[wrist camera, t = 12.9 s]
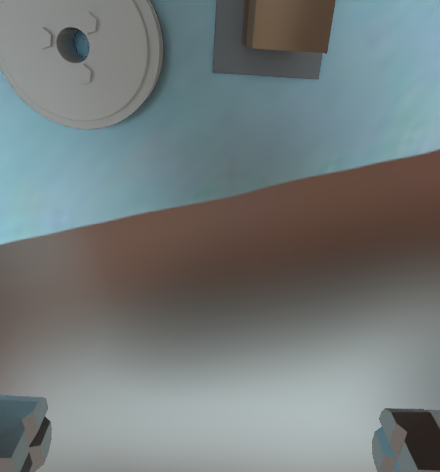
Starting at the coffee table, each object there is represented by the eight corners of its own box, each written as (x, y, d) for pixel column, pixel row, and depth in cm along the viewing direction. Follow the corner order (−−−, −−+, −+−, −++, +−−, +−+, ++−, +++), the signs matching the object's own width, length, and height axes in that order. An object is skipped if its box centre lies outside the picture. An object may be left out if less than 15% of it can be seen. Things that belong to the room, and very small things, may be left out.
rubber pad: (213, 71, 36) (213, 72, 35) (219, -55, 32) (219, -57, 31) (316, 78, 36) (318, 79, 35) (336, -46, 32) (338, -48, 31)
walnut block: (241, 43, 34) (252, 48, 24) (246, -19, 32) (260, -42, 22) (294, 47, 34) (326, 53, 24) (302, -15, 32) (341, -36, 22)
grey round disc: (-18, -16, 33) (-56, -24, 28) (131, -71, 31) (117, -88, 27) (53, 138, 38) (32, 151, 34) (184, 97, 37) (179, 106, 32)
